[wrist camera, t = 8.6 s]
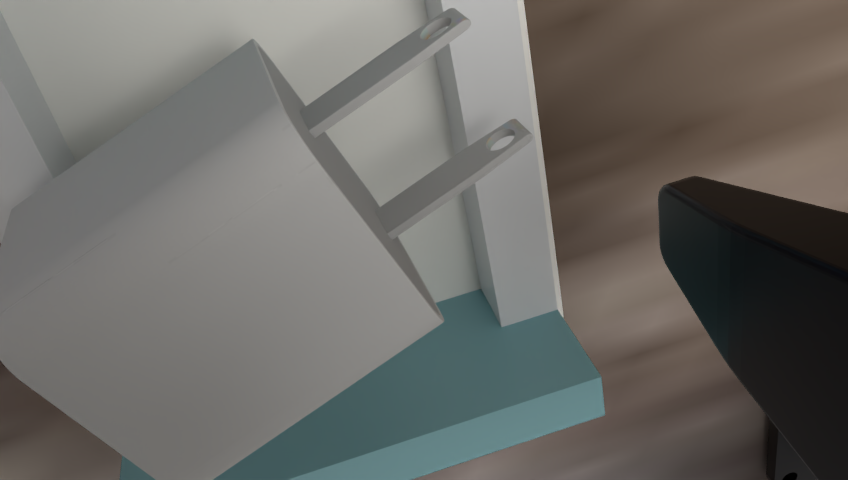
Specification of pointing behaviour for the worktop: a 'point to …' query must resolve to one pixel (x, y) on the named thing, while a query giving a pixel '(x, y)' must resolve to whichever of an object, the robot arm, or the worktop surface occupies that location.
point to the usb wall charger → (223, 264)
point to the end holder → (383, 176)
